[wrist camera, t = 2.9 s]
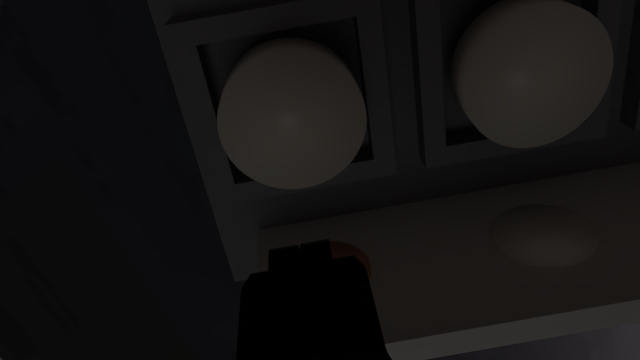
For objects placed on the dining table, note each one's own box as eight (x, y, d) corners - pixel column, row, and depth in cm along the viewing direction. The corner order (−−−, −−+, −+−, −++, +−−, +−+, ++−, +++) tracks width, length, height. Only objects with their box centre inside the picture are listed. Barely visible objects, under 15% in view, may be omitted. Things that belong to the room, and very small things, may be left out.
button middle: (593, -19, 21) (622, -11, 20) (580, 116, 24) (604, 134, 22) (447, 7, 21) (462, 18, 20) (452, 139, 24) (466, 159, 23)
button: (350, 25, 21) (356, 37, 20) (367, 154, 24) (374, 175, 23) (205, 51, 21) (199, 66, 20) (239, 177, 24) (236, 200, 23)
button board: (815, -154, 23) (1252, -185, 13) (733, 161, 31) (963, 298, 21) (154, -32, 24) (61, 33, 13) (237, 249, 32) (220, 428, 21)
